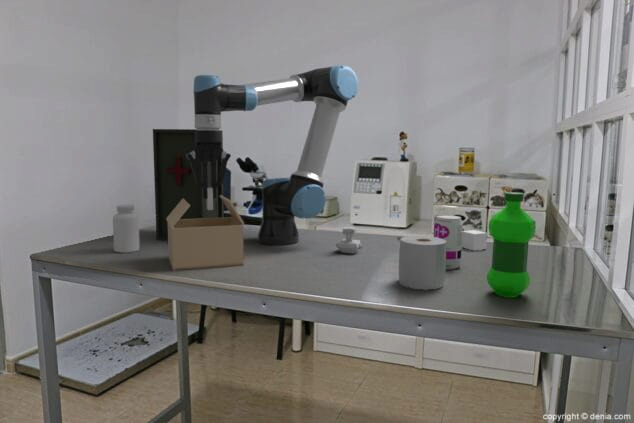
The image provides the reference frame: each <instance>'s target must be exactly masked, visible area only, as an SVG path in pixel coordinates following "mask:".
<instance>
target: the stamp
mask: <svg viewBox="0 0 634 423" xmlns="http://www.w3.org/2000/svg"><path fill="white" fill-rule="evenodd" d="M356 233H357V227H354V226H344V227H343V228H342V235H343V236H345V237H346V238H342V239H341V240H340V241H339V242H337V243H336V244H335V247H336V248H338V250H339V251H340V252H341V253H343V254H349V255H350V254H355V253H357V251H358V250H362V249H363V247H364V246H363V244H361V240H360V239H353V236H354V235H355V234H356Z"/></svg>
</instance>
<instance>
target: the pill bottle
mask: <svg viewBox="0 0 634 423" xmlns="http://www.w3.org/2000/svg"><path fill="white" fill-rule="evenodd" d="M116 212H117V213H115V214H114V215H113V217H112V231H113V232H112V233H113V234H112V235H113V236H112V237H113V251H114V252H115V253H120V254H121V253H123V254H124V253H129V254H130V253H135V252H138V251H139V250H140V219H139V218H140V217H139V215H138V214H137V213H135V205H133V204H118V205H117V206H116Z"/></svg>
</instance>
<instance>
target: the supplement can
mask: <svg viewBox="0 0 634 423" xmlns="http://www.w3.org/2000/svg"><path fill="white" fill-rule="evenodd" d="M462 220H463V219H462V217H461V216H459V215H458V216H457V215H452V214H441V215H440V214H438V215H436V218H435V219H434V221H433V237H436V238H441V239H444V240H445V241H446V268H445V270H456V268H457V269H459V267H461V265H462V264H461V262H462V249H463V248H462V231H464V230H463V228H464V227H463V226H464V223H463V222H464V221H462Z"/></svg>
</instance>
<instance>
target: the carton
mask: <svg viewBox="0 0 634 423" xmlns="http://www.w3.org/2000/svg"><path fill="white" fill-rule="evenodd" d="M167 242H168V243H167V244H168V245H167V246H168V247H167V248H168V249H167V250H168V259H169V262H170V265H171V268H172V270H173V271H175V272H177V271H185V270H201V269H210V268H211V269H214V268H223V267H224V268H225V267H237V266H244V265H245V264H244V224H241V223H240V222H239V221H237V220H236V219H235V218H233V217H232V216H228V217H227V216H226V217H225V216H224V217H223V218H200V219H179V220H178V222H177V223H176V224H175V225H174V226H173V228H171V227H170V225H169V223H168V240H167Z"/></svg>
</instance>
